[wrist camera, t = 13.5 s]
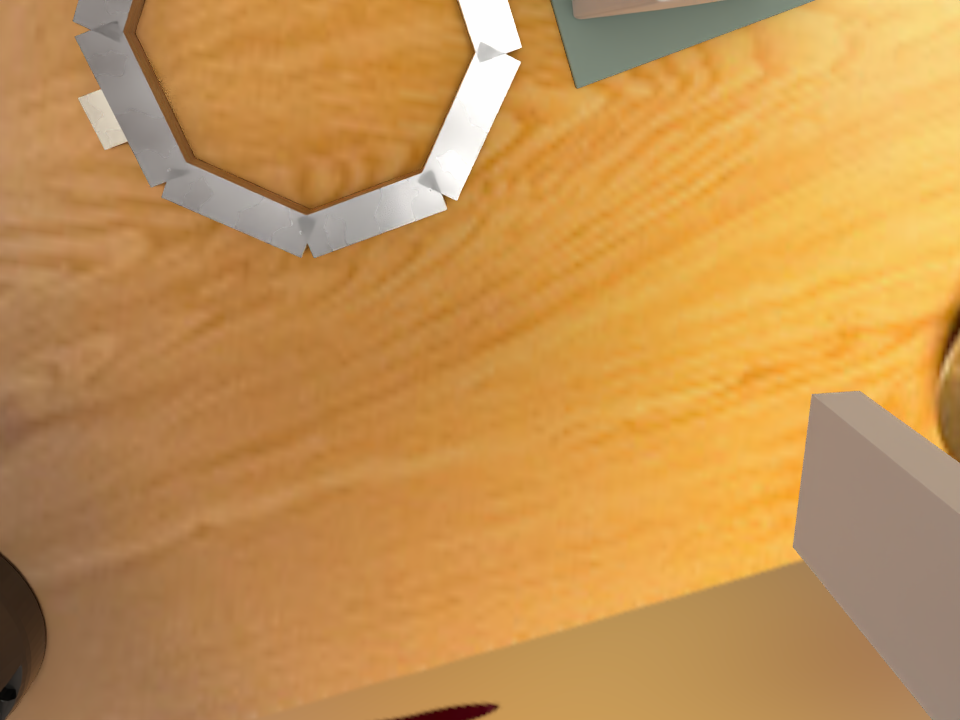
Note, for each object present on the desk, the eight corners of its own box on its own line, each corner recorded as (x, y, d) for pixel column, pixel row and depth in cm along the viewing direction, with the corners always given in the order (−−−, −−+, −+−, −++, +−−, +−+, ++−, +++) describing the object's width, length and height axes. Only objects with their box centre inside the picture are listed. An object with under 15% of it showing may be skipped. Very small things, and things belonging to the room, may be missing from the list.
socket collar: (188, 298, 40) (180, 307, 39) (-10, -87, 34) (-29, -93, 32) (582, 154, 39) (587, 158, 37) (454, -277, 32) (455, -291, 31)
